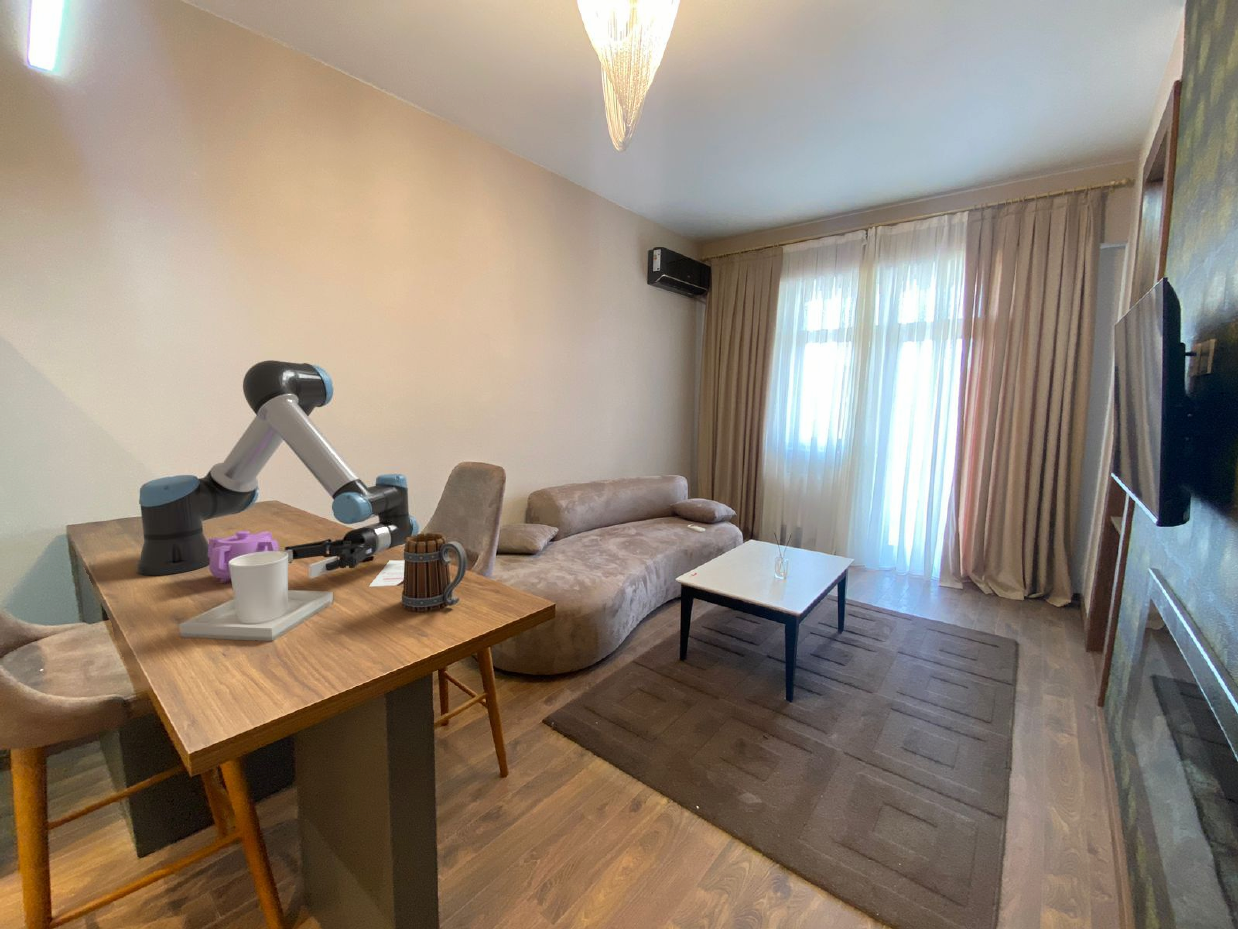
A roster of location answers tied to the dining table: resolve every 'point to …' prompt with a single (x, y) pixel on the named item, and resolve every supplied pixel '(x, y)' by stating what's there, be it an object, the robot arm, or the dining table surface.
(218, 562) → the pot
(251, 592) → the white tapered cylinder
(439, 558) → the mug
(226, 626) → the tray
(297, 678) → the dining table surface
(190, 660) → the dining table surface
